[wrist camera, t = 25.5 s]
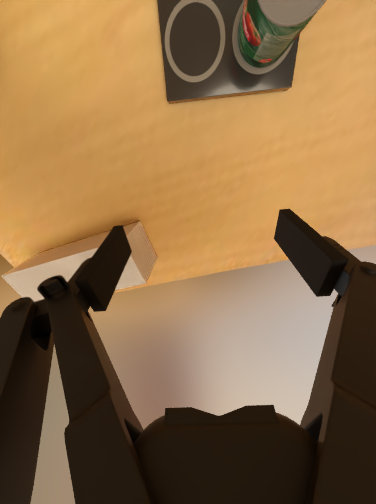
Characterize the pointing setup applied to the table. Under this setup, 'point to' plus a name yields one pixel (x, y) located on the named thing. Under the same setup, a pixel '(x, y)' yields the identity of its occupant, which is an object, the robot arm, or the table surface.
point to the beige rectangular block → (74, 254)
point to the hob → (213, 53)
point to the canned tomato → (271, 28)
